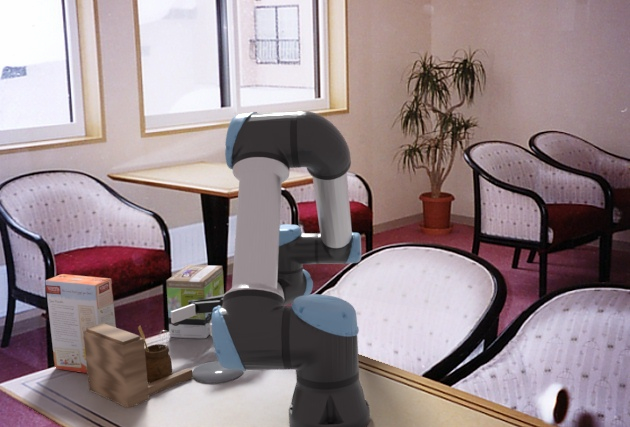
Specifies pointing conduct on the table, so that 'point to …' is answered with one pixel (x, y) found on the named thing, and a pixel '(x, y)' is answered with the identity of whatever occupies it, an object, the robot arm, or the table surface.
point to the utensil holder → (157, 360)
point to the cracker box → (76, 315)
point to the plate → (215, 373)
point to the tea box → (193, 298)
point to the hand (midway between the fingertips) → (190, 323)
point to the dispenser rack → (122, 366)
